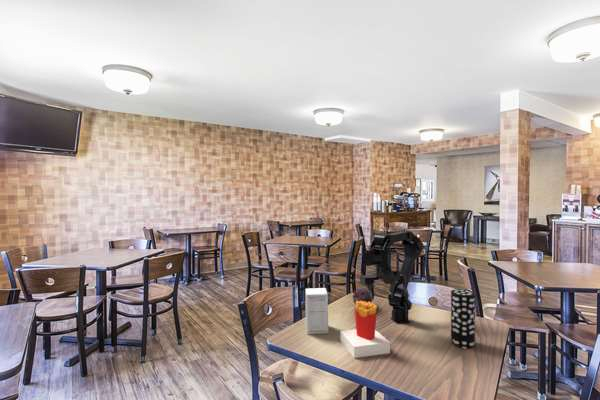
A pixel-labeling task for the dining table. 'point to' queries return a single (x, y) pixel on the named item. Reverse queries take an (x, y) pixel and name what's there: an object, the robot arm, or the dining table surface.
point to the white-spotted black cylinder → (463, 318)
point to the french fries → (365, 319)
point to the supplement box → (316, 311)
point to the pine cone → (362, 296)
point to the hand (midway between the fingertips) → (382, 298)
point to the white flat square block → (364, 344)
